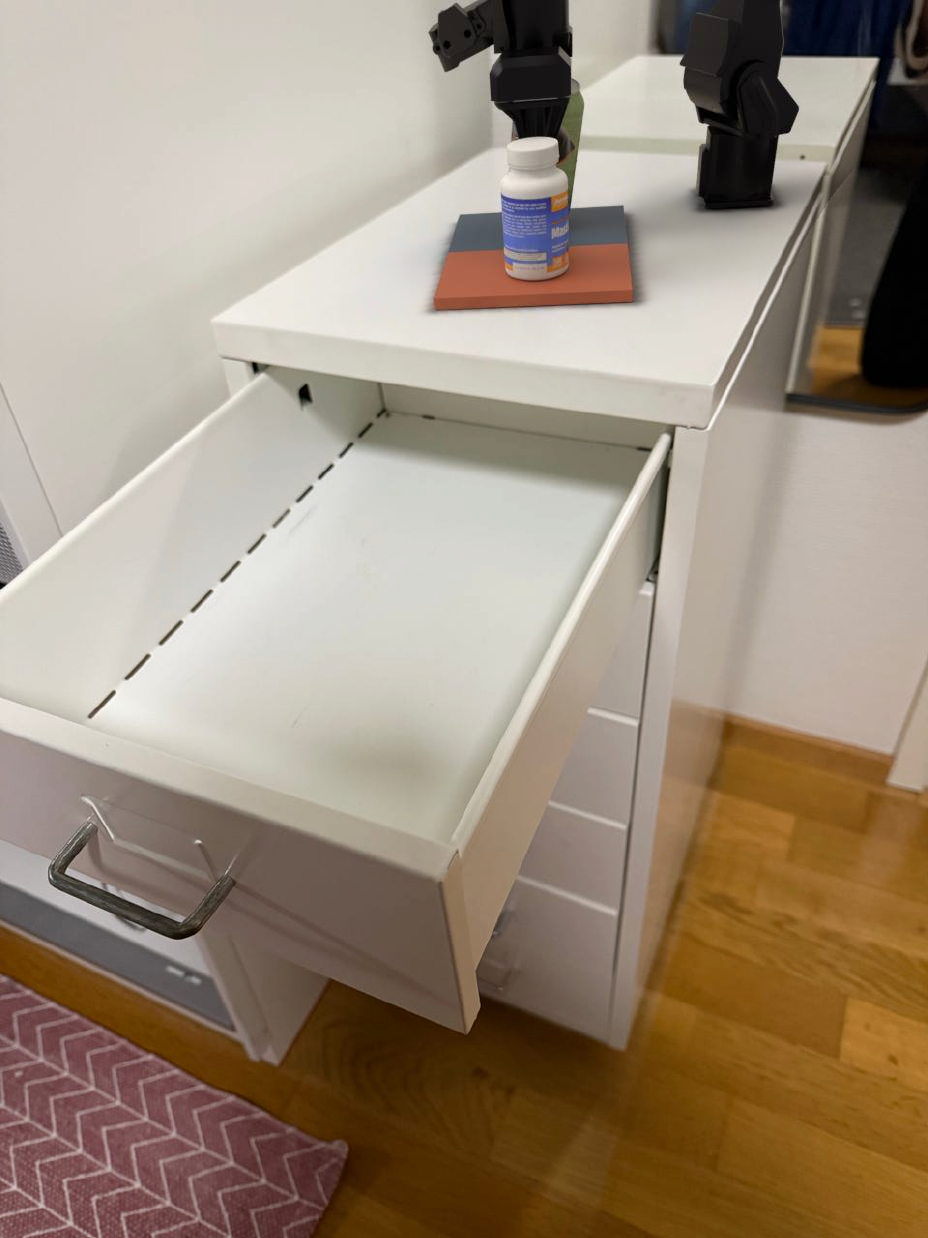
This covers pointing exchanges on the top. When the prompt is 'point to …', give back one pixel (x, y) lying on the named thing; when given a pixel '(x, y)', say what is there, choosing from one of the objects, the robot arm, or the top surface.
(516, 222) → the pill bottle
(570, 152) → the beverage can
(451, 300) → the board
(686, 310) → the top surface
